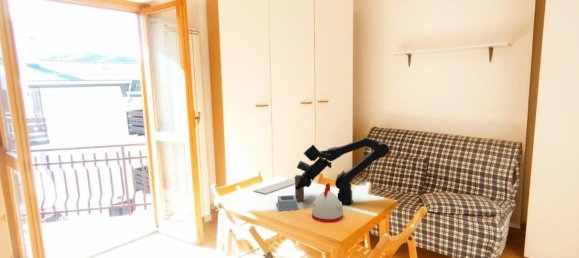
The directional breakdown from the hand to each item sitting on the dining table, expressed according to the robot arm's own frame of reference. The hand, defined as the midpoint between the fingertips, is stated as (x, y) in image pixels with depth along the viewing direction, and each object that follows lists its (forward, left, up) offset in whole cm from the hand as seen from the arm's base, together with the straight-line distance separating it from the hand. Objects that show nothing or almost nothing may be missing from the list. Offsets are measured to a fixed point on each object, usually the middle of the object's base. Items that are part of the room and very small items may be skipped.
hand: (296, 187), depth 168 cm
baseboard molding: (+22, -19, -8) cm, 30 cm away
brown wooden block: (-1, 0, -7) cm, 7 cm away
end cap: (+1, +11, -7) cm, 13 cm away
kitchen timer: (-22, +16, -7) cm, 27 cm away
